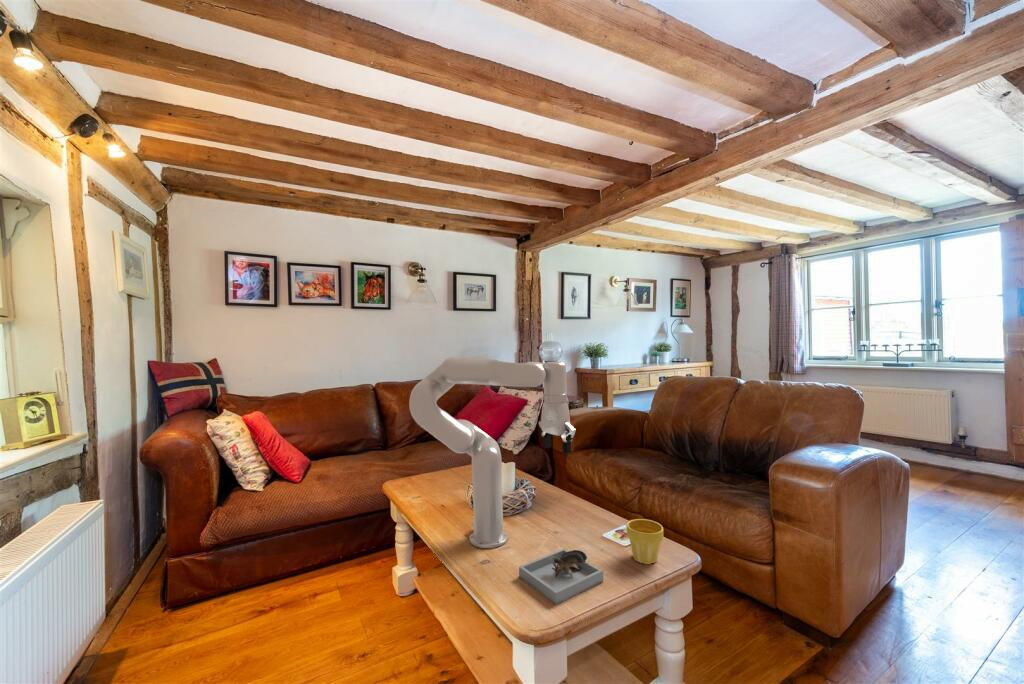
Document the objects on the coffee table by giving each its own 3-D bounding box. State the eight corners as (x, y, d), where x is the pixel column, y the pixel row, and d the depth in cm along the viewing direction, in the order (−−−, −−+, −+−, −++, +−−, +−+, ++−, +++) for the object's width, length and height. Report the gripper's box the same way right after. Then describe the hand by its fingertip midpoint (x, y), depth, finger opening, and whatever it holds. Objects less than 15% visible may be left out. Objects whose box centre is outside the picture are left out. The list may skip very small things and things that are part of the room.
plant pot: (656, 549, 134) (655, 517, 134) (669, 567, 123) (668, 532, 123) (623, 550, 133) (622, 519, 133) (633, 568, 123) (632, 534, 123)
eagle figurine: (569, 582, 113) (592, 565, 119) (555, 556, 116) (579, 539, 121) (555, 586, 119) (578, 569, 124) (542, 560, 122) (565, 545, 127)
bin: (519, 577, 120) (518, 566, 120) (564, 558, 130) (564, 548, 130) (556, 605, 107) (556, 593, 107) (603, 581, 117) (603, 570, 117)
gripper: (530, 397, 149) (531, 447, 149) (564, 403, 135) (566, 458, 135) (547, 395, 153) (548, 443, 154) (582, 400, 139) (583, 454, 139)
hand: (556, 450), depth 144 cm, fingers open, 9 cm apart
